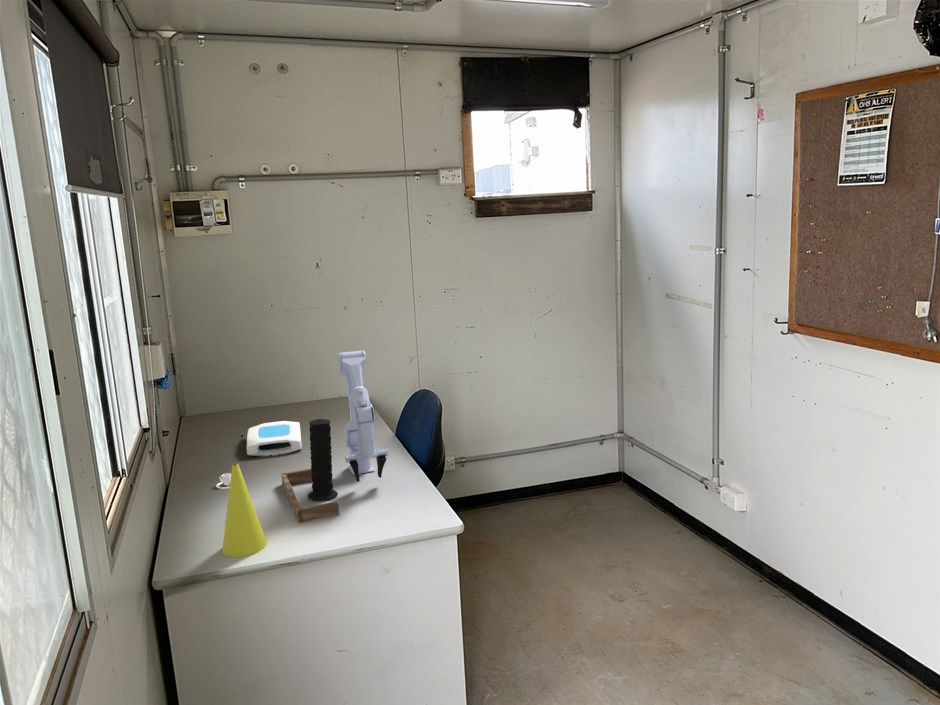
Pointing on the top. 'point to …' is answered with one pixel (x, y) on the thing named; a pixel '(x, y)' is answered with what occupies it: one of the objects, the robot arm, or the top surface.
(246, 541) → the cone
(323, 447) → the handle grip
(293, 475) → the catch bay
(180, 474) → the top surface
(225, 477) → the teacup and saucer
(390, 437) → the top surface
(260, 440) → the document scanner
